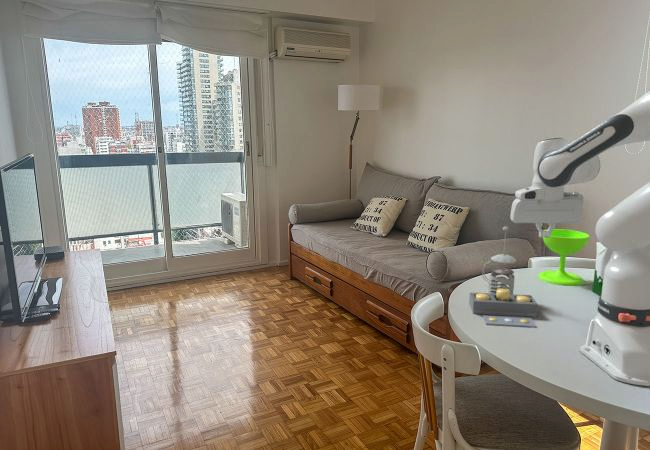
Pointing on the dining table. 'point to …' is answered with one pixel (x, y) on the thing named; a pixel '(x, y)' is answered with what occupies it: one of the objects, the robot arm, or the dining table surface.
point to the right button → (522, 299)
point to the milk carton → (600, 267)
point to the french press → (501, 272)
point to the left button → (482, 297)
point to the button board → (505, 310)
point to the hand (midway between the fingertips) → (544, 237)
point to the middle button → (502, 295)
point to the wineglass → (564, 255)
